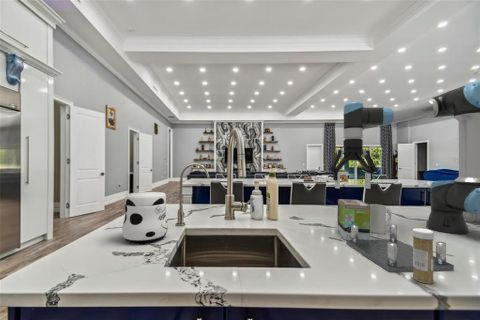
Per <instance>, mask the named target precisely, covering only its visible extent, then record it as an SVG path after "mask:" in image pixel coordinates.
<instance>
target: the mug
mask: <svg viewBox="0 0 480 320" xmlns="http://www.w3.org/2000/svg"><path fill="white" fill-rule="evenodd" d="M368 205H370V233H373V234H377V235H378V234H379V235H383V234H385V233H386V226H389V227H390V223H391V221H392V212H391V210H390V207H386V205H385V204H384V205H383V204H377V203H375V204H374V203H372V204H371V203H369V204H368ZM386 213H387V214H388V215H386ZM386 216H387V220H386Z"/></svg>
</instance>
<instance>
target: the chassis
mask: <svg viewBox="0 0 480 320" xmlns="http://www.w3.org/2000/svg"><path fill="white" fill-rule="evenodd" d="M345 241H346V245H347V246H349V247H351V248H352V249H353V250H354V251H357V253H358V254H360V255H362V256H364V257H366V258H367V259H368V260H370V261H372V263H374V264H376V265H377V266H379V267H381V268H382V269H384V270H385V271H386V272H388V273H403V272H404V273H405V272H409V273H410V272H412V273H413V245H410V244H407V243H405V242H403V241H400V240H399V239H398V225H396V224H393V223H391V224H389V238H387V239H386V238H385V239H383V238H382V239H381V238H380V239H370V240H358V225H351V240H345ZM442 271H443V272H444V271H448V272H449V271H455V265H454V264H452V263H450V262H447V243H446V242H444V241H435V256H434V255H433V272H442Z"/></svg>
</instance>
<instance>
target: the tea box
mask: <svg viewBox="0 0 480 320" xmlns="http://www.w3.org/2000/svg"><path fill="white" fill-rule="evenodd" d="M336 225H337V228H336V229H337V231H338V233H339V234H340V236H341V237H342V239H344V241H346V240H351V225H358V240H371V232H370V205H369V204H368V203H366V202H364V201H362V200H360V199H359V200H358V199H342V198H340V199H337V223H336Z"/></svg>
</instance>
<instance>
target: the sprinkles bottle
mask: <svg viewBox="0 0 480 320" xmlns="http://www.w3.org/2000/svg"><path fill="white" fill-rule="evenodd" d="M411 234H412V238H413V240H412V243H413V245H412V247H413V272H412V273H413V275H412V278H413V279H414V280H415V281H417V282H419V283H421V284H433V283H434V282H435V280H434V271H433V256H434V242H433V241H434V239H435V237H434V236H435V235H434V234H435V233H434V230H432V229H428V228H427V229H426V228H421V227H419V228H416V227H415V228H413V229H412V233H411Z"/></svg>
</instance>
